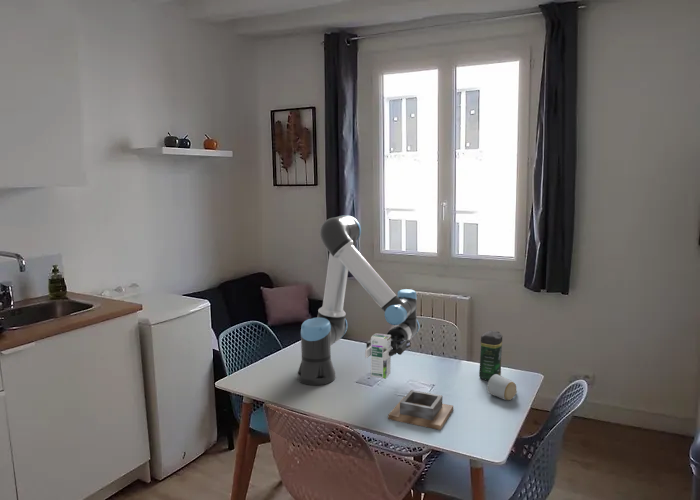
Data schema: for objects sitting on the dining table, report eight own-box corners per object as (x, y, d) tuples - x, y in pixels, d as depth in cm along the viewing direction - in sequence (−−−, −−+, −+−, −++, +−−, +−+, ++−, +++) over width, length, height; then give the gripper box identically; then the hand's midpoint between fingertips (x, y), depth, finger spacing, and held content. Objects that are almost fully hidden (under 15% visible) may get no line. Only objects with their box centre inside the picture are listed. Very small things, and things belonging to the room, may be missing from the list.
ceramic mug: (505, 403, 189) (506, 383, 188) (486, 396, 195) (487, 376, 194) (522, 396, 196) (523, 376, 195) (503, 389, 202) (504, 369, 201)
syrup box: (370, 377, 185) (370, 337, 183) (375, 371, 191) (376, 332, 189) (385, 379, 183) (386, 338, 181) (391, 373, 189) (391, 333, 187)
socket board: (388, 419, 178) (388, 403, 177) (404, 400, 192) (404, 385, 192) (440, 429, 170) (440, 413, 170) (453, 409, 185) (453, 394, 184)
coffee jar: (497, 383, 207) (498, 337, 205) (477, 379, 211) (478, 334, 208) (503, 374, 216) (504, 330, 213) (483, 371, 219) (485, 327, 217)
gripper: (422, 348, 198) (401, 370, 178) (375, 342, 206) (350, 361, 186) (422, 329, 197) (401, 348, 177) (375, 323, 205) (350, 341, 185)
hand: (375, 355), depth 181 cm, fingers closed on syrup box, 6 cm apart
